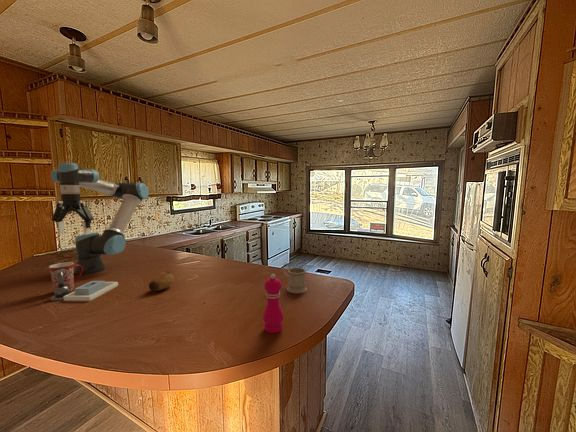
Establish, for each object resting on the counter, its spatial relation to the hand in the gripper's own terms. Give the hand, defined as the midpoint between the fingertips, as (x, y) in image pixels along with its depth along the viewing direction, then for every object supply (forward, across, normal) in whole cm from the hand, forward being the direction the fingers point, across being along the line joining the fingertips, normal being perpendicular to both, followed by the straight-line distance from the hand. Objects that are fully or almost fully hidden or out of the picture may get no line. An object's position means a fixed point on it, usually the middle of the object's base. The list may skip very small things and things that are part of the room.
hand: (74, 234), depth 130 cm
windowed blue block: (+26, +17, -13) cm, 34 cm away
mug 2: (+27, +115, -5) cm, 118 cm away
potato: (+27, +49, -7) cm, 56 cm away
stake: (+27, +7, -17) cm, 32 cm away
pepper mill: (+27, +108, -42) cm, 118 cm away
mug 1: (+27, +2, -9) cm, 28 cm away
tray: (+27, +18, -12) cm, 34 cm away
